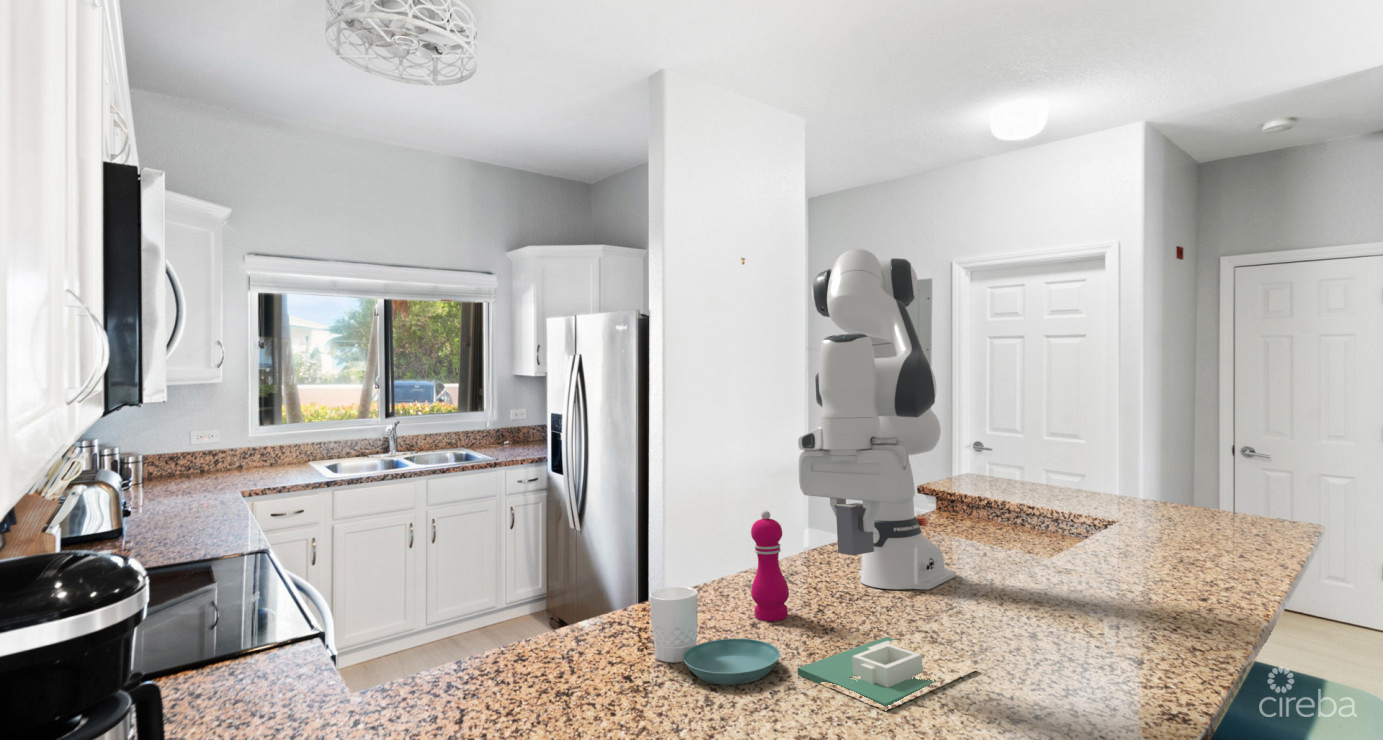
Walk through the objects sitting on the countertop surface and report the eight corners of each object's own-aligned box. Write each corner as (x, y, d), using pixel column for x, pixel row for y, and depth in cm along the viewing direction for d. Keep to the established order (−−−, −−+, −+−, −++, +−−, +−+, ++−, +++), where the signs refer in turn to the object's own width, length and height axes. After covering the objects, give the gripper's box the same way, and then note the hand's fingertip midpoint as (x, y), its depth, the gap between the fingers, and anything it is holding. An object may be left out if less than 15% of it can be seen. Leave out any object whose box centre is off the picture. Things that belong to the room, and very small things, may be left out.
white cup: (683, 667, 101) (680, 601, 102) (642, 659, 105) (639, 596, 106) (709, 651, 108) (706, 589, 109) (669, 644, 112) (667, 585, 113)
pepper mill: (789, 622, 121) (782, 512, 122) (750, 622, 122) (744, 513, 124) (791, 610, 128) (785, 507, 129) (754, 610, 129) (748, 508, 131)
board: (886, 643, 108) (885, 621, 108) (976, 671, 94) (974, 646, 95) (797, 674, 96) (796, 650, 96) (885, 711, 83) (883, 683, 83)
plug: (858, 549, 101) (856, 502, 102) (874, 551, 98) (871, 503, 99) (838, 552, 98) (835, 504, 99) (853, 555, 96) (850, 506, 97)
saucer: (742, 647, 109) (741, 631, 110) (801, 674, 97) (800, 656, 97) (666, 669, 102) (665, 651, 102) (720, 701, 89) (719, 681, 89)
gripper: (921, 436, 93) (927, 535, 92) (818, 437, 110) (822, 521, 109) (891, 437, 90) (897, 540, 88) (790, 438, 107) (794, 525, 105)
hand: (855, 529), depth 99 cm, fingers closed on plug, 3 cm apart
